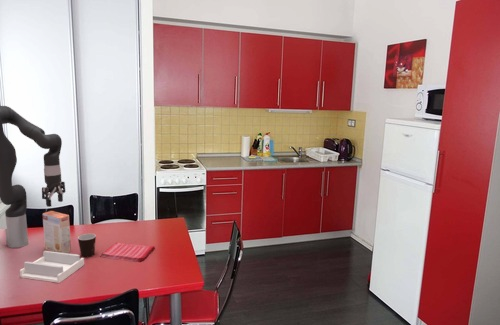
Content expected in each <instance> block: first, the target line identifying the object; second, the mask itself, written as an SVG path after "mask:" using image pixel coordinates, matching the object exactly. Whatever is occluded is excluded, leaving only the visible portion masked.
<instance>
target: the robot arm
mask: <svg viewBox="0 0 500 325" xmlns="http://www.w3.org/2000/svg"><path fill="white" fill-rule="evenodd" d="M5 124H6V125H7V124H10V125H13V126H16V127H17V128H18V130H19V132H20V133H21V134H22V135H23V136H25V137H26V138H28V139H30V140H32V141H34V143H35V144H36V145H37V146H38V147H40V148H41V149H44V150H48V151H47V152H46V153H44V154H43V173H44V174H43V175H44V183H45V184H46V186H45V187H44V186H43V187H42V188H41V199H42V200H45V203H46V204H45V205H46V207H50V208H51V207H52V199H51V198H52V196H54V194H55V193H57V201H58V202H59V203H62V202H63V201H64V200H63V197H64V196H63V195H64V193H66V182H65V181H62V170H61V162H60V161H61V160H60V155H61V149H62V147H63V146H62V144H63V143H62V142H63V141H62V138H61V136H60V135H59V134H58V133H52V134H46V131H45V130H44V129H43V128H41V127H40V126H38V125H36V124H34V123H32V122H30V121H29V120H27V119H26V118H24V117H23V116H22V115H20V114H19V113H18V112H17V111H15V110H14V109H13V108H11V107H10V106H8V105H0V201H1V203H2V204H3V205H6V206H8V207H7V209H6V210H5V211H4V213H5V223H6V225H5V226H6V228H5V230H4V231H5V240H6V246H7V247H9V248H12V249H17V248H18V249H19V248H22V247H25V246H27V245H28V244H29V238H28V237H29V235H28V224H27V222H28V221H27V214H26V212H27V209H28V208H27V207H28V206H27V205H28V204H27V203H28V201H27V200H28V199H27V198H28V196H27V192H26V188H25V187H24V186H23V185H21V184H15V185H13V183H12V181H13V180H12V178H13V174H14V171H15V169H16V166H17V163H18V162H17V161H18V159H17V152H16V148H15V146H14V145H13V143H12V142H11V141H10V139H9V138H8V137H7V136H6V134H5V130H4V128H3V125H5Z"/></svg>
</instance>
